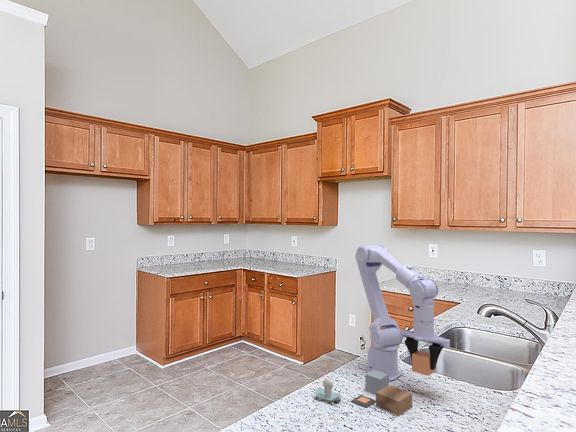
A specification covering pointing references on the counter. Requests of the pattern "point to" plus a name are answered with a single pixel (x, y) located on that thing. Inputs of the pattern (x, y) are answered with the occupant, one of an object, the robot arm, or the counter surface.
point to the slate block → (376, 381)
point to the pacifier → (327, 392)
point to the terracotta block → (421, 363)
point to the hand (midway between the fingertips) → (423, 366)
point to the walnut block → (394, 400)
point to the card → (363, 401)
